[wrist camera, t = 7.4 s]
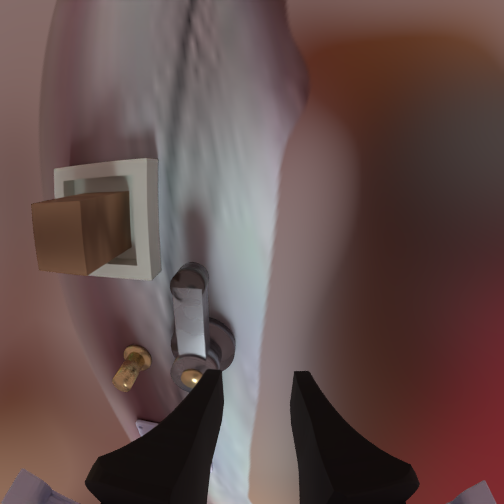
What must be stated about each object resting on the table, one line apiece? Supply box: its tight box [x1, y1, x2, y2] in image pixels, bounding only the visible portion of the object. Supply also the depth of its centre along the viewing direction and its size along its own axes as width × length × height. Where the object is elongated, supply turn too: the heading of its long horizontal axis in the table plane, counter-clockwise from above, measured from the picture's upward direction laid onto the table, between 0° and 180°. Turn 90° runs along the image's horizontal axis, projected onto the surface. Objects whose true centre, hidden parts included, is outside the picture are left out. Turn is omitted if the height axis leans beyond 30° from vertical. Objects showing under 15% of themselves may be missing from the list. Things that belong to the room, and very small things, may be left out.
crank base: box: [112, 317, 236, 392], centre depth 20 cm, size 6×10×4 cm, turn 88°
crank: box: [170, 262, 222, 392], centre depth 18 cm, size 9×3×3 cm, turn 178°
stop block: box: [31, 191, 132, 276], centre depth 16 cm, size 4×4×6 cm
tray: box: [54, 158, 161, 281], centre depth 18 cm, size 8×8×2 cm
